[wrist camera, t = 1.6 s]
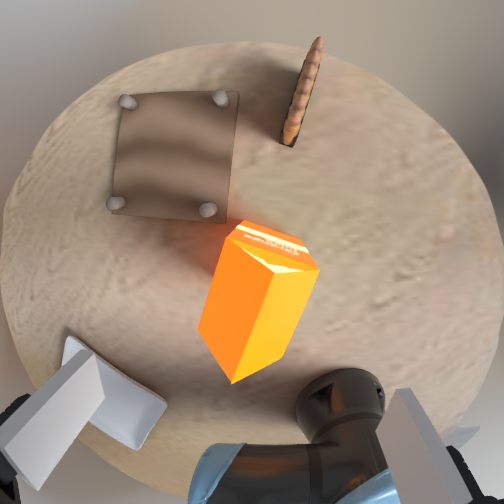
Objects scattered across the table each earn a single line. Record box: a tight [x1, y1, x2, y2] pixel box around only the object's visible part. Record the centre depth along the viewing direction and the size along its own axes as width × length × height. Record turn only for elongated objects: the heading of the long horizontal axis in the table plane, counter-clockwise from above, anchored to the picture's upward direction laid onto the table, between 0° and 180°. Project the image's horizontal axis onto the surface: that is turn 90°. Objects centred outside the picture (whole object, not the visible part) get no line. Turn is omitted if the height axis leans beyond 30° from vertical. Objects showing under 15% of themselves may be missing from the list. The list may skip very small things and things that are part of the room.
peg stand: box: [106, 89, 239, 224], centre depth 32 cm, size 17×16×4 cm
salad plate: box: [61, 336, 168, 451], centre depth 42 cm, size 21×21×3 cm
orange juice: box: [198, 220, 319, 384], centre depth 27 cm, size 8×9×20 cm
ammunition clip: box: [279, 37, 323, 147], centre depth 26 cm, size 11×2×12 cm, turn 163°
